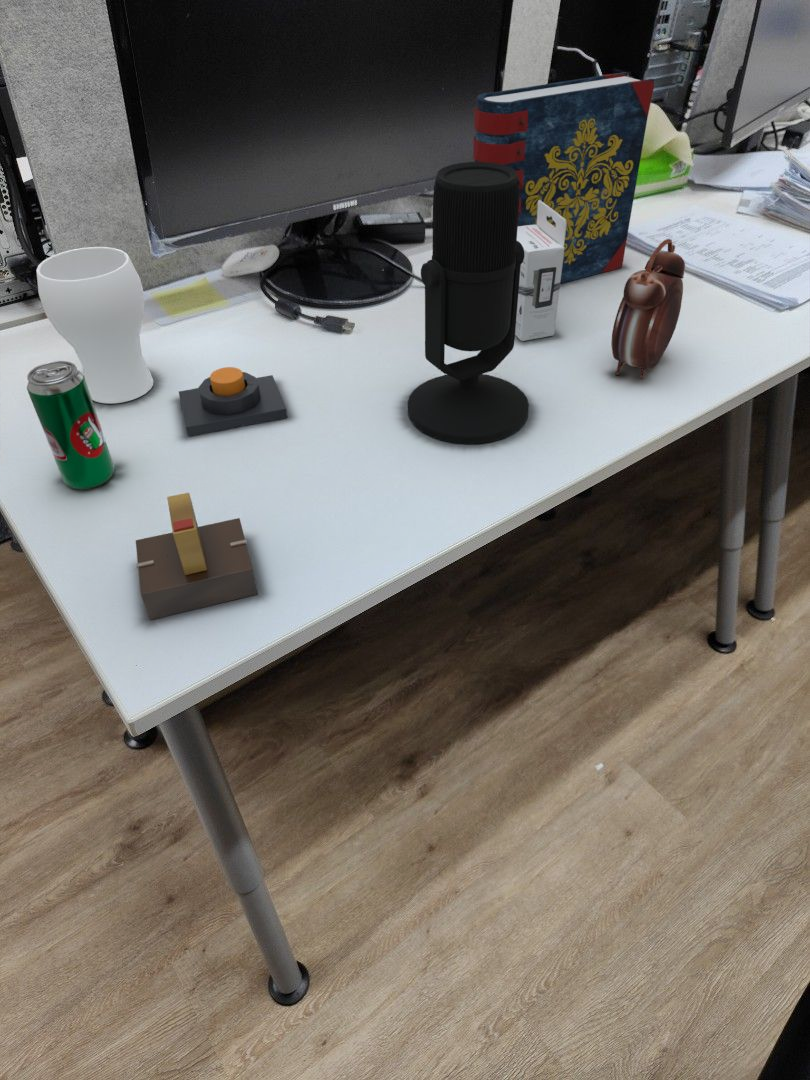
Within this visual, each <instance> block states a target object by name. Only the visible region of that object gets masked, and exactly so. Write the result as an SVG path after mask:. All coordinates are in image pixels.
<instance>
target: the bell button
mask: <svg viewBox="0 0 810 1080" xmlns="http://www.w3.org/2000/svg"><path fill="white" fill-rule="evenodd" d="M243 372H244V371H242V370H241V369H240V368H237V367H231V366H227V367H221V368H218V369H216V370H213V371H212V372H211V374H209V375H210V376H209V377H210V380H211V385H212V390H213V392H214V394H216V395H223V396H229V395H234V394H238V393H239V392H241V391H243V390H244V389H245V383H244V377H243Z"/></svg>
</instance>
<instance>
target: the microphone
mask: <svg viewBox="0 0 810 1080" xmlns="http://www.w3.org/2000/svg"><path fill="white" fill-rule="evenodd" d="M518 215H519V179H518V175H517V172H516V171H515V170H514V169H513V168H511V167H508V166H505V165H501V164H496V163H488V162H475V161H469V162H468V161H467V162H459V163H453V164H450V165H446V166H444V167H442V168H440V169H439V170H438V171H437V173H436V176H435V179H434V185H433V196H432V255H431V259H428V260H427V261H426V262H424V263H423V264H422V266H421V268H420V278H421V281H422V283H423V285H424V356H425V360H426V361H427V362H429V363H430V364H431V365H432V366H434V367H435V368H437V369H438V370H439V371H440V372H442V373H443V374H444V375H443V374H442V375H440V376H436V377H434V378H431V379H428V380H426V381H424V382H422V383H421V384H419V385H418V386H416V388H415V389H413V391H412V392H411V393H410V395H409V396H408V400H407V416H408V418H409V420H410V422H411V424H413V425H414V427H415V428H416V429H418V430H419V431H420V432H422V433H423V434H425V435H427V436H429V437H430V438H433V439H436V440H439V441H442V442H446V443H447V442H448V443H451V444H460V445H480V444H486V443H487V444H488V443H493V442H496V441H500V440H503V439H505V438H508V437H510V436H512V435H514V434H515V433H517V432H518V431H519V430H520V429H521V428H523V426H524V425H525V424H526V422H527V420H528V417H529V408H530V404H529V400H528V397H527V396H526V394H525V393H524V392H523V391H522V389H520V388H519V387H518V386H516V385H515V384H513V383H511V382H510V381H507V380H506V379H503V378H502V377H501V378H500V377H497V376H495V375H490V374H487V373H490V372H492V371H494V370H495V369H497V367H498V366H499V365H500V364H501V363H502V362H503V361H504V360H505V359H506V357H507V356H508V355H509V354H510V353H511V352H512V351H513V349H514V347H515V341H516V335H515V329H516V316H517V304H518V292H519V280H520V267H521V264H522V262H523V260H524V248H523V246H522V244H521V243H520V242H519V241H517V229H518ZM445 346H447V347H449V348H452V349H453V350H458V351H460V352H461V351H462V352H478V353H477V354H476V355H473V356H469V357H467V358H463V359H460V360H457V361H454V362H449V363H445V355H446V354H445V353H446V351H445V349H446V348H445Z"/></svg>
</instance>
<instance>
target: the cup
mask: <svg viewBox="0 0 810 1080" xmlns="http://www.w3.org/2000/svg"><path fill="white" fill-rule="evenodd" d="M35 271H36V280H37V291H38V296H39V299H40V302H41V306H42V308H43V311H44V313H45V316H46V318H47V319H48V321H49V322H50V323H51V325H52V326H53V328H54V329H55V331H56V332H57V333H58V334H59V335H60V337H62V338H63V340H65V341H66V342H67V344H69V345H70V346H71V347H72V348H73V350H74V352H75V354H76V357H77V358H78V360H79V362H80V364H81V366H82V374H83V375H84V378H85V381H86V384H87V387H88V390H89V392H90V395H91V398H92V401H94V402H96V403H100V404H120V403H121V404H122V403H126V402H130V401H133V400H136V399H138V398H140V397H142V396H144V395H145V394H147V393H148V392H149V391H150V390H151V389H152V388H153V386H154V378H153V376H152V373H151V371H150V369H149V366H148V365H147V363H146V361H145V358H144V356H143V354H142V344H141V336H140V334H141V331H142V327H143V324H144V323H143V322H144V318H145V302H146V301H145V297H146V296H145V292H144V289H143V284H142V279H141V277H140V276H139V273H138V272H137V269H136V268H135V265H134V264H133V261H132V260H131V258H130V256H129V254H128V253H127V252H125V251H124V250H122V249H118V248H115V247H109V246H89V247H88V246H87V247H79V248H74V249H69V250H65V251H61V252H59V253H55V254H53V255H50V256H49V257H47V258H45V259H44V260H42V261H41V262H40V263H39V264H38V266H37V267H36V270H35Z"/></svg>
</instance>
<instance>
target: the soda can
mask: <svg viewBox="0 0 810 1080" xmlns="http://www.w3.org/2000/svg"><path fill="white" fill-rule="evenodd" d="M26 377H27V381H28V382H27V385H26V390H27V393H28V395H29V398H30V401H31V403H32V405H33V408H34V411H35V414H36V416H37V418H38V421H39V423H40V426H41V428H42V431H43V433H44V436H45V439H46V441H47V443H48V446H49V448H50V451H51V454H52V456H53V459H54V461H55V464H56V466H57V469H58V471H59V474H60V476H61V479H62V482H63V483H64V484H65V485H67V486H69V487H70V488H73V489H77V490H91V489H95V488H97V487H100V486H102V485H104V484H105V483H107V482H108V481H109V480H110V478H111V477H112V475H113V474H114V472H115V464H114V461H113V458H112V455H111V452H110V450H109V446H108V444H107V441H106V437H105V433H104V431H103V429H102V425H101V422H100V419H99V417H98V414H97V411H96V407H95V405H94V402H93V401H94V400H92V398H91V395H90V392H89V390H88V387H87V384H86V381H85V378H84V375H83V372H81V371H80V370H79V369H78V367H77V366H76V364H75V363H73V362H71V361H67V360H53V361H49V362H45V363H42V364H39V365H37V366H35V367H34V368H32V369H31V370H30V371H29V372H28V373H27V375H26Z"/></svg>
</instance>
